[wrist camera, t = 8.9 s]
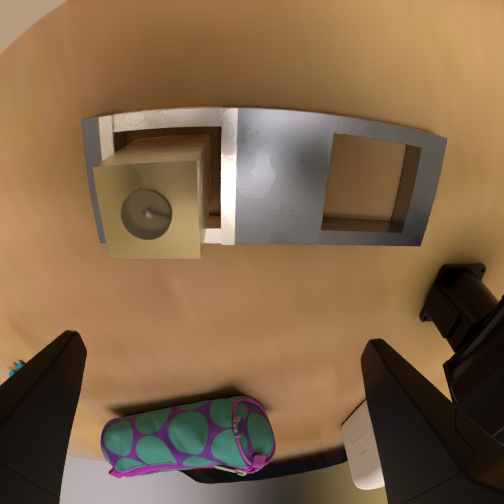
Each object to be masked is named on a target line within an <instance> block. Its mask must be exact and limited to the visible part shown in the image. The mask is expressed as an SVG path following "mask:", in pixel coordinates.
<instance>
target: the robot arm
mask: <svg viewBox="0 0 504 504" xmlns="http://www.w3.org/2000/svg"><path fill="white" fill-rule="evenodd" d="M485 270H486V267H485V265H484V264H462V265H444V266H443V267H442V268H441V270H440V272H439V275H438V277H437V279H436V282H435V284H434V286H433V289H432V291H431V293H430V295H429V298H428V300H427V302H426V304H425V306H424V308H423V310H422V313H421V315H420V320H421V321H422V322H426V321H433V322H434V324H435V325H436V327H437V329H438V330H439V332H440V333H441V335H442V337H443V338H446V339H447V341H448V343H449V344H450V346H451V348H452V349H453V351H454V353H455V352H456V353H455V354H454V355H453V356H452V357H451V358H450V359H449V360H448V361H446V362H445V363H444V364H443V368H444V372H445V376H446V380H447V383H448V387H449V391H450V395H451V399H452V402H451V401H450V400H449V399H448V398H447V397H446V396H445V395H444V394H442V393H441V392H440V391H439V390H438V389H437V388H436V387H435V386H434V385H433V384H432V383H431V382H429V381H428V380H427V379H426V378H425V377H424V376H423V375H422V374H421V373H420V372H419V371H417V370H416V369H415V368H414V367H413V366H412V365H411V364H410V363H409V362H407V361H406V360H405V359H404V358H403V357H402V356H401V355H400V354H399V353H398V352H396V351H395V350H394V349H393V348H392V347H391V346H390V345H389V344H387V343H386V342H385V341H384V340H383V339H380V338H378V339H370V340H369V341H368V343H367V345H366V347H365V349H364V351H363V354H362V356H361V367H362V374H363V380H364V387H365V395H366V401H367V407H368V411H369V415H370V419H371V423H372V428H373V432H374V436H375V441H376V445H377V450H378V454H379V459H380V464H381V469H382V474H383V479H384V484H385V489H386V495H387V500H388V504H504V295H503V296H502V299H501V300H500V301H498V300H497V299H496V298H495V296H494V295H493V294H492V293H491V292H490V290H489V289H488V288H487V287H486V286H485V285H484V283H483V282H482V281H481V279H482V277H483V275H484V273H485ZM86 357H87V350H86V347H85V345H84V343H83V340H82V338H81V336H80V334H79V333H78V332H77V331H71V330H66V331H65V332H63V333H62V334H61V335H60V336H58V337H57V338H56V339H55V340H53V341H52V342H51V343H50V344H49V345H47V346H46V347H45V348H44V349H42V350H41V351H40V352H39V353H38V354H36V355H35V356H34V357H33V358H32V359H30V360H29V361H28V362H27V363H26V364H25V365H23V366H22V367H21V368H20V369H19V370H18V371H16V372H15V373H14V374H13V375H12V376H11V377H9V378H8V379H7V380H6V381H5V382H4V383H3V384H1V385H0V504H59V502H60V492H61V484H62V477H63V471H64V465H65V459H66V454H67V449H68V443H69V439H70V434H71V429H72V425H73V420H74V416H75V412H76V408H77V404H78V400H79V396H80V391H81V385H82V379H83V373H84V367H85V362H86Z"/></svg>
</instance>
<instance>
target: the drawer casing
mask: <svg viewBox="0 0 504 504" xmlns="http://www.w3.org/2000/svg"><path fill="white" fill-rule="evenodd" d="M82 125H83V137H84V147H85V156H86V164H87V172H88V179H89V186H90V192H91V198H92V204H93V210H94V215H95V220H96V225H97V230H98V235H99V239H100V243H106V239H105V235H104V230H103V225H102V220H101V215H100V210H99V204H98V198H97V193H96V186H95V180H94V173H93V167H94V166H95V165H97V164H98V163H100V162H101V161H103V160H104V159H106V158H107V157H109V156H111V155H112V154H114V153H115V152H117V151H118V150H120V149H121V148H123V147H125V146H126V140H125V131H131V130H142V129H155V128H172V127H202V126H222V133H221V216H209V217H208V222H207V228H206V233H205V239H204V243H221V245H235V243H242V244H325V245H383V246H420V245H421V242H422V239H423V236H424V233H425V230H426V226H427V223H428V220H429V216H430V213H431V209H432V205H433V202H434V198H435V194H436V190H437V186H438V182H439V177H440V173H441V169H442V164H443V159H444V154H445V149H446V143H447V138H444V137H442V136H439V135H437V134H434V133H431V132H427V131H423V130H419V129H415V128H411V127H407V126H402V125H398V124H393V123H388V122H383V121H378V120H373V119H367V118H361V117H355V116H349V115H342V114H335V113H327V112H319V111H309V110H299V109H287V108H273V107H252V106H191V107H170V108H156V109H144V110H134V111H125V112H117V113H110V114H103V115H96V116H92V117H89V118H86V119H83V120H82ZM334 133H338V134H346V135H353V136H360V137H367V138H373V139H380V140H385V141H391V142H396V143H402V144H407V149H406V155H405V160H404V165H403V171H402V176H401V181H400V185H399V190H398V194H397V199H396V203H395V207H394V212H393V216H392V220H391V221H377V220H357V219H334V218H323V211H324V205H325V198H326V191H327V184H328V177H329V169H330V161H331V153H332V145H333V136H334Z"/></svg>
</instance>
